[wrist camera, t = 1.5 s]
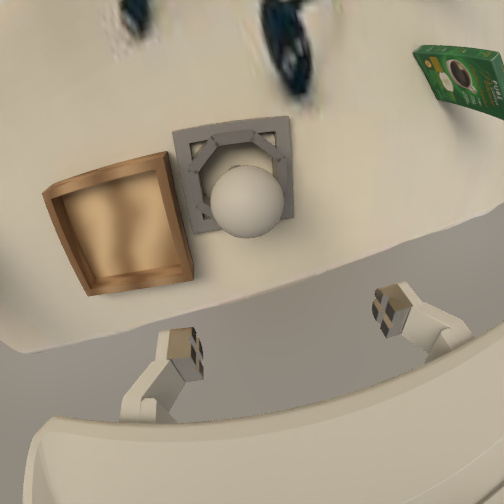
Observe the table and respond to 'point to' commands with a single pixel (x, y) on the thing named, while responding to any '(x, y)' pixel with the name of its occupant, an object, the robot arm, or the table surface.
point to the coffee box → (465, 76)
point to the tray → (122, 226)
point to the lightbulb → (247, 201)
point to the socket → (225, 136)
